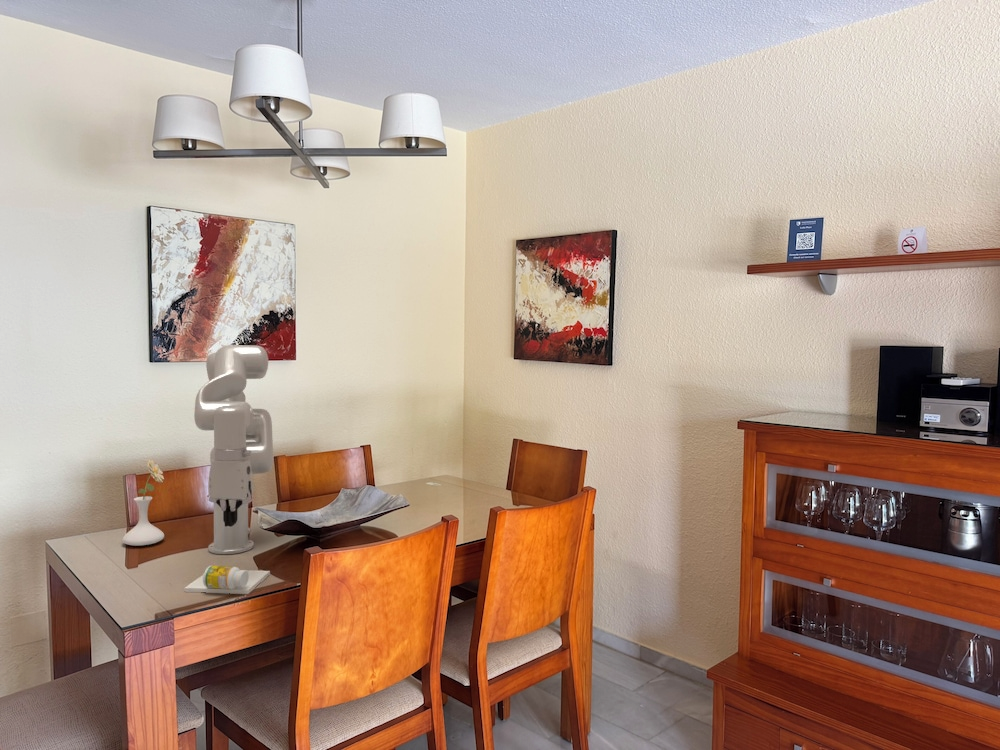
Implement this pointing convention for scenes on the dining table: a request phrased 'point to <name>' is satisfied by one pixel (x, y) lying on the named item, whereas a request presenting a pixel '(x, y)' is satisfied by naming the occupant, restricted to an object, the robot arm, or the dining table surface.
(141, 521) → the flower in vase
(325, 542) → the dining table surface
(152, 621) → the dining table surface
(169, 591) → the dining table surface
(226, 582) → the supplement bottle
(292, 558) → the dining table surface
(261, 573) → the mat
